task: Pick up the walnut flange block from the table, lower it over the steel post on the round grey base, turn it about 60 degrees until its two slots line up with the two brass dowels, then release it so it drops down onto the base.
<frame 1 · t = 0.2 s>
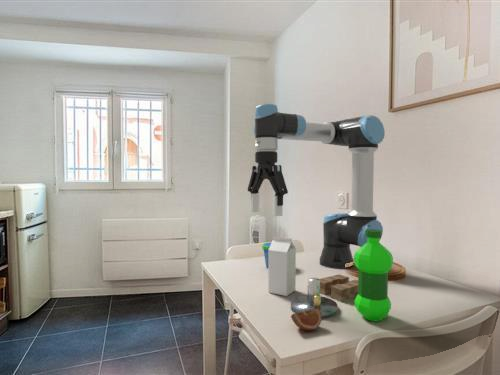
hand: (266, 213, 114), 28 cm above the table, tool pointing down, fingers open, 13 cm apart
flange block: (340, 292, 116), on the table
fruit slice: (305, 329, 89), on the table
snack cup: (274, 267, 148), on the table
milk carton: (282, 292, 117), on the table
post base: (313, 308, 102), on the table
plastic bottle: (372, 317, 96), on the table
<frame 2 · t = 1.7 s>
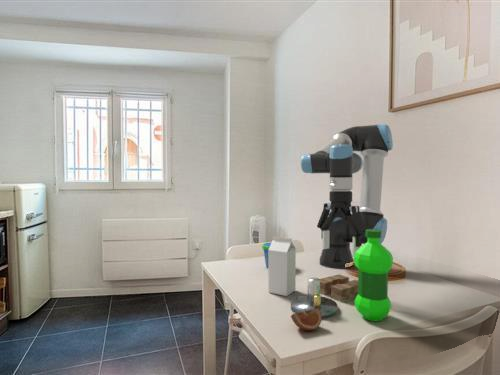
hand: (340, 252, 115), 14 cm above the table, tool pointing down, fingers open, 13 cm apart
nothing on the table moved.
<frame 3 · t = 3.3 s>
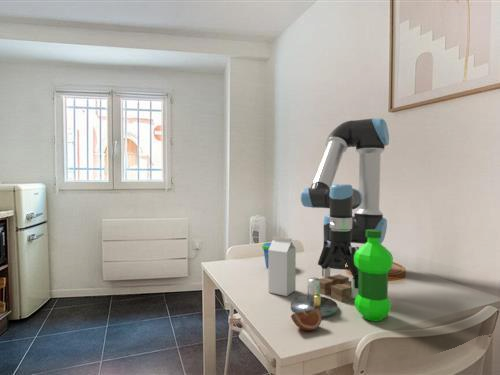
hand: (340, 291, 116), 0 cm above the table, tool pointing down, fingers closed on flange block, 12 cm apart
flange block: (340, 292, 116), on the table, touching gripper
everything else where it was.
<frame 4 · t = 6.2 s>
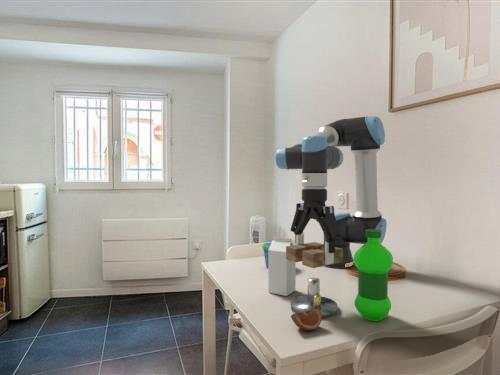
hand: (313, 259, 102), 15 cm above the table, tool pointing down, fingers closed on flange block, 12 cm apart
flange block: (313, 260, 102), point 15 cm above the table, touching gripper
everything else where it was.
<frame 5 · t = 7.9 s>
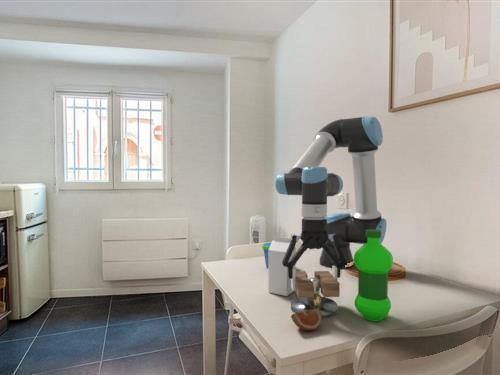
hand: (314, 288, 102), 6 cm above the table, tool pointing down, fingers closed on flange block, 12 cm apart
flange block: (314, 289, 102), point 6 cm above the table, touching gripper
everything else where it was.
when the fingers open (6 cm above the table, at t = 9.2 s): flange block drops 4 cm, resting on post base.
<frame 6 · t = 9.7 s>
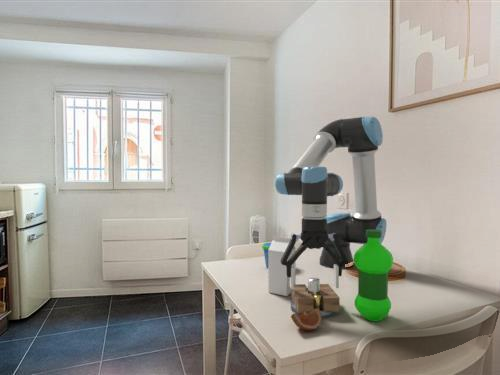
hand: (313, 287, 102), 7 cm above the table, tool pointing down, fingers open, 13 cm apart
flange block: (313, 303, 102), point 1 cm above the table, touching post base
everything else where it was.
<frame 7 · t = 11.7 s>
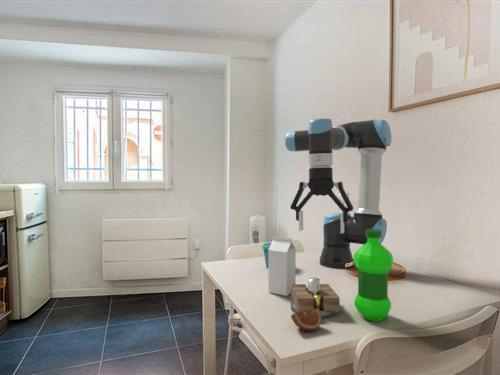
hand: (321, 231, 111), 22 cm above the table, tool pointing down, fingers open, 13 cm apart
nothing on the table moved.
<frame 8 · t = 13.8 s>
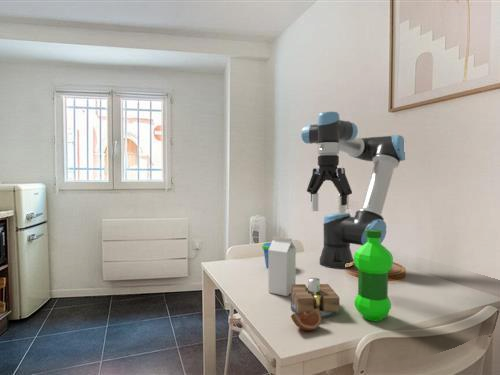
hand: (327, 212, 124), 27 cm above the table, tool pointing down, fingers open, 13 cm apart
nothing on the table moved.
at the end: flange block 0.1 cm off-centre on the post base, point 1.5 cm above the post base's base; the gripper is holding nothing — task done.
